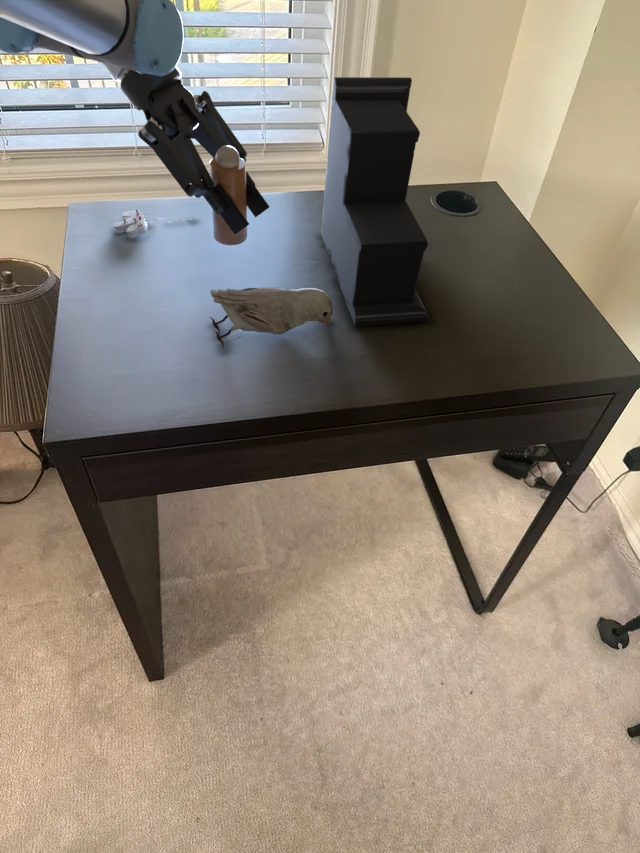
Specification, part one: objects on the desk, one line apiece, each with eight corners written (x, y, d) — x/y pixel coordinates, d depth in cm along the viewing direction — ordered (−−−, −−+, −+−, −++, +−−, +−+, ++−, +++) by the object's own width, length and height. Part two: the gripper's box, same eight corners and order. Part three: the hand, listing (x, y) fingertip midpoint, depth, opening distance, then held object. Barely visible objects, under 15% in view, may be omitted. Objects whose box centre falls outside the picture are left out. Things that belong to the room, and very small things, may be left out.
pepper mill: (207, 239, 93) (201, 148, 83) (225, 224, 96) (221, 135, 86) (235, 249, 92) (232, 158, 82) (253, 233, 95) (252, 144, 85)
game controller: (108, 226, 99) (105, 210, 97) (174, 207, 105) (173, 192, 103) (126, 243, 96) (123, 227, 94) (192, 222, 102) (191, 207, 100)
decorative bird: (336, 336, 85) (341, 289, 79) (215, 354, 81) (212, 305, 75) (324, 312, 88) (328, 265, 83) (208, 327, 84) (204, 279, 79)
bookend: (429, 322, 88) (470, 154, 71) (353, 328, 86) (376, 156, 69) (385, 232, 103) (410, 75, 86) (319, 235, 102) (331, 75, 84)
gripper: (107, 68, 74) (234, 238, 82) (196, 30, 85) (300, 182, 93) (80, 105, 79) (201, 261, 87) (167, 64, 90) (267, 206, 98)
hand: (252, 220), depth 90 cm, fingers closed on pepper mill, 5 cm apart
